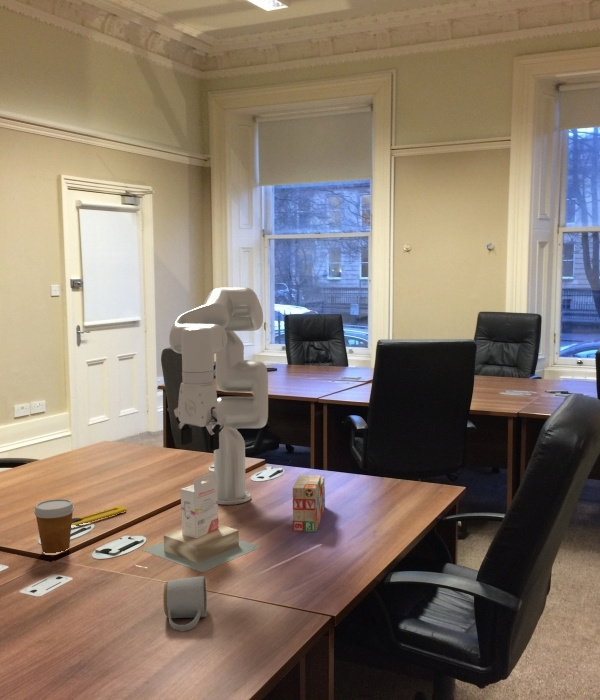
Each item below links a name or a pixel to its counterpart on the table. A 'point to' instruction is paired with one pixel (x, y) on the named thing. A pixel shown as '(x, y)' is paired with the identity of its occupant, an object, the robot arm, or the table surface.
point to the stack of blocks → (308, 502)
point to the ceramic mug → (185, 600)
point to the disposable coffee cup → (54, 524)
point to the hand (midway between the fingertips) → (200, 446)
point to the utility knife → (98, 515)
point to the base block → (201, 543)
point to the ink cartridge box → (200, 507)
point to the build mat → (208, 563)
